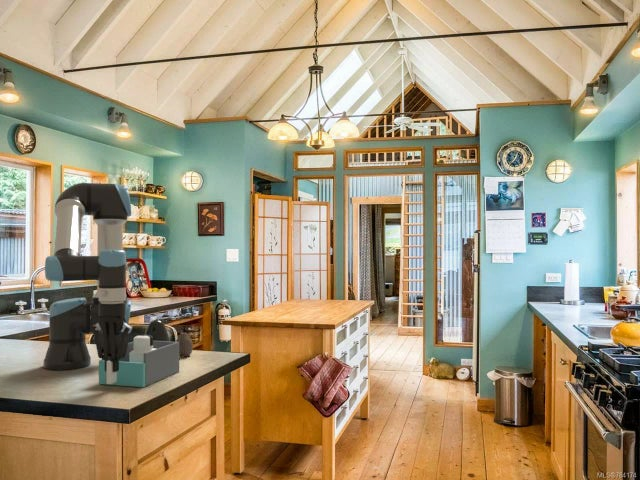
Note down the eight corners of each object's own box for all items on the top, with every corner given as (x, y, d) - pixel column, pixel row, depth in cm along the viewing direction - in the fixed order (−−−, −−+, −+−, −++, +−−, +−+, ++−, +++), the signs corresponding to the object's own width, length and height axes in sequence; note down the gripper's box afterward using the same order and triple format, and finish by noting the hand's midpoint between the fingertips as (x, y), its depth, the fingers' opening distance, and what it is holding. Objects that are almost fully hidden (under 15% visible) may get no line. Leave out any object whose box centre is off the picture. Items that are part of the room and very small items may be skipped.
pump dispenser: (176, 359, 202) (177, 318, 202) (157, 365, 193) (157, 322, 193) (155, 357, 206) (155, 317, 207) (135, 362, 197) (135, 320, 197)
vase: (186, 358, 204) (186, 335, 205) (170, 357, 207) (170, 333, 207) (196, 354, 211) (196, 332, 211) (181, 353, 213) (181, 331, 213)
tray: (98, 383, 166) (98, 360, 166) (136, 369, 185) (136, 348, 185) (143, 387, 162) (143, 363, 162) (177, 372, 181) (177, 351, 181)
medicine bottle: (134, 370, 179) (135, 333, 179) (156, 369, 179) (157, 333, 179) (128, 375, 172) (128, 337, 172) (151, 375, 172) (151, 337, 172)
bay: (101, 383, 167) (101, 350, 167) (138, 369, 186) (138, 339, 187) (145, 386, 163) (146, 353, 163) (179, 371, 182) (179, 342, 183)
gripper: (84, 302, 158) (84, 384, 158) (123, 304, 155) (123, 387, 154) (101, 300, 165) (100, 378, 165) (139, 301, 162) (138, 381, 162)
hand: (111, 382), depth 160 cm, fingers closed
